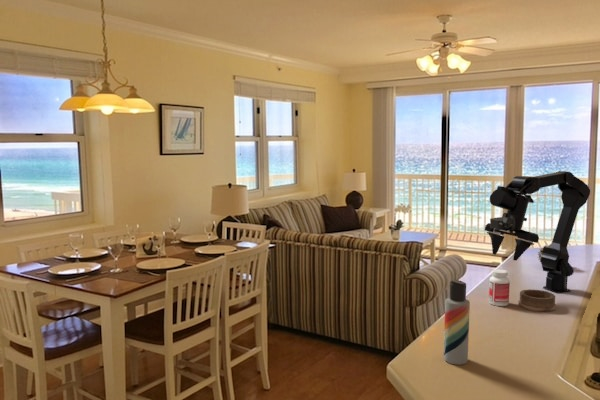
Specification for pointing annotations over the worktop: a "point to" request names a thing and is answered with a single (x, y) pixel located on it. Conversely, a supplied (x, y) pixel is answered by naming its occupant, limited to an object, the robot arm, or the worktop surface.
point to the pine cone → (540, 253)
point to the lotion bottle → (456, 324)
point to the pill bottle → (499, 288)
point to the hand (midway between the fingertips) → (504, 257)
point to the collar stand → (537, 300)
